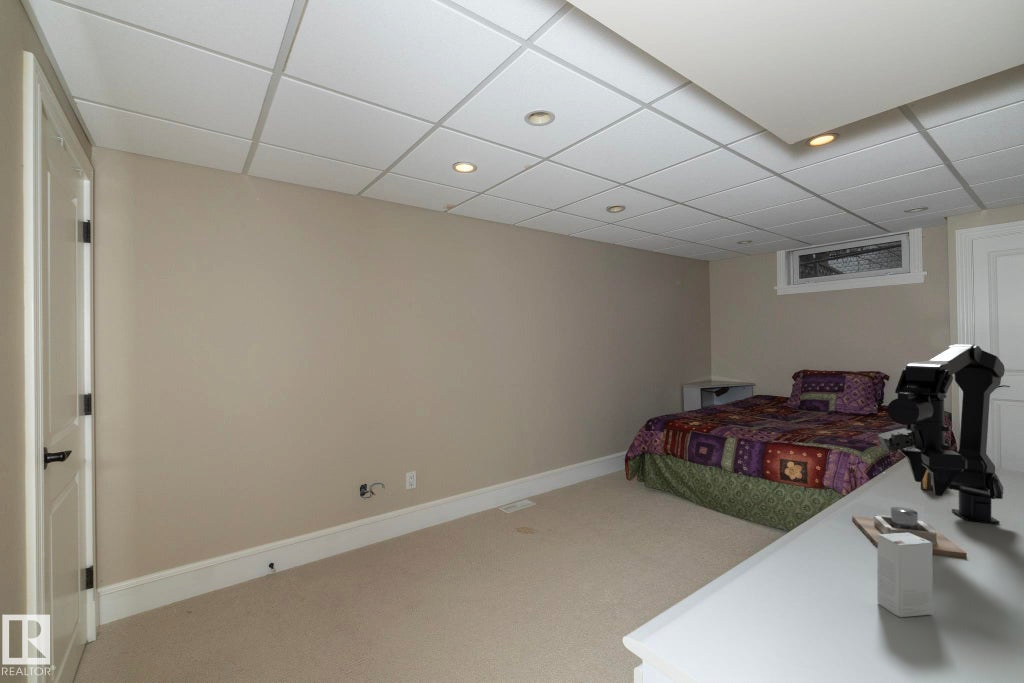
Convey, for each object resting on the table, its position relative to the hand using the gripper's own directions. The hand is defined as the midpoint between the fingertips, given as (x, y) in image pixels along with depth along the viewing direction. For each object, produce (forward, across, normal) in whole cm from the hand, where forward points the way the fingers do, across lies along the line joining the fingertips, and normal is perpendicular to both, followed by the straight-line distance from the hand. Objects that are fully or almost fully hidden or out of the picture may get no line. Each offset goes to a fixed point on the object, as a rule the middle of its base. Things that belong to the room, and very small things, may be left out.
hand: (927, 488), depth 102 cm
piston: (+10, +3, -5) cm, 11 cm away
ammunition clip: (+12, -42, +17) cm, 46 cm away
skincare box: (+10, +36, -17) cm, 41 cm away
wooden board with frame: (+11, +3, -5) cm, 12 cm away
